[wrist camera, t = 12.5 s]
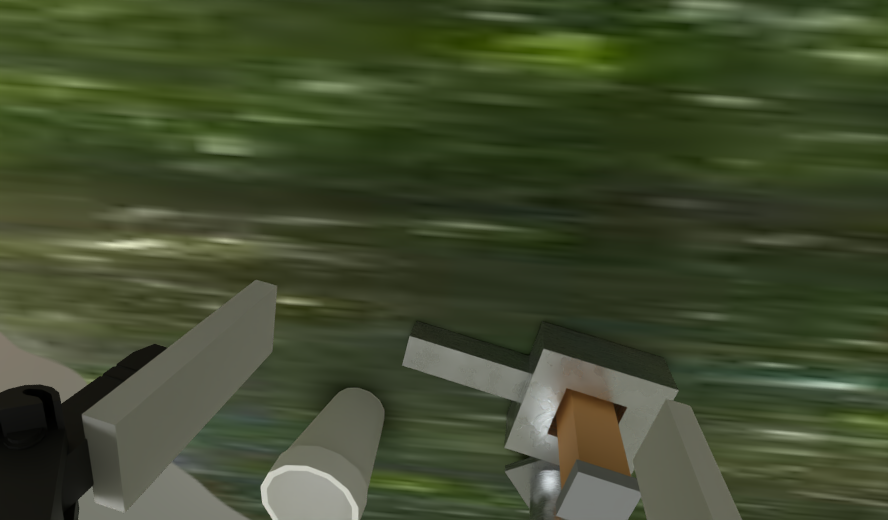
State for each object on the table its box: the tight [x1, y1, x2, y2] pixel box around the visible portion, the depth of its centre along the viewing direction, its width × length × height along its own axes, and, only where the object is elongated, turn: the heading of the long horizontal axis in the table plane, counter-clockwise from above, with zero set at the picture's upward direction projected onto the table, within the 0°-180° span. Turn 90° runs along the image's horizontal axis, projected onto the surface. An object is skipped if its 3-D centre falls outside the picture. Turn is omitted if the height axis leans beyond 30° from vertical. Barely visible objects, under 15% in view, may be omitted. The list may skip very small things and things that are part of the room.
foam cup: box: [261, 388, 385, 520], centre depth 48 cm, size 10×9×13 cm
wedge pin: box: [555, 388, 641, 520], centre depth 41 cm, size 5×5×14 cm
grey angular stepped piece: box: [403, 321, 679, 520], centre depth 41 cm, size 20×24×18 cm
